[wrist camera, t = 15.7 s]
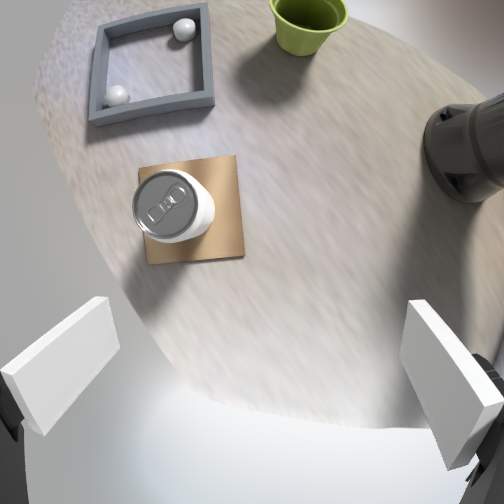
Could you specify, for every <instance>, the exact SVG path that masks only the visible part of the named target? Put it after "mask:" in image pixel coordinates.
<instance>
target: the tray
mask: <svg viewBox="0 0 504 504" xmlns="http://www.w3.org/2000/svg"><path fill="white" fill-rule="evenodd" d="M196 20H201V41H202V62H203V81H204V91H196V92H189V93H182V94H176V95H170V96H164V97H158V98H153V99H148V100H143V101H138V102H133V103H129V100H130V96H129V94H128V93H127V92H126V90H125V89H124V88H123V87H122V86H119V85H116V86H113V87H111V88H109V89H108V90H107V92H106V80H107V68H108V57H109V48H110V39H111V38H115V37H118V36H122V35H126V34H129V33H133V32H138V31H142V30H146V29H151V28H155V27H160V26H165V25H171V24H174V25H173V31H174V34H175V37H176V39H177V40H179V41H183V42H185V41H189V40H191V39H193V38H194V37H195V36H196V27H195V23H194V21H196ZM105 103H106V104H107V105H108V106H109V107H110V108H108V109H105ZM128 103H129V104H128ZM209 106H215V99H214V85H213V71H212V56H211V39H210V22H209V10H208V3H207V2H206V3H198V4H191V5H185V6H178V7H173V8H167V9H162V10H157V11H152V12H148V13H144V14H139V15H135V16H131V17H128V18H124V19H120V20H117V21H113V22H110V23H107V24H103V25H100V26H98V31H97V37H96V44H95V51H94V59H93V67H92V77H91V88H90V102H89V121H90V122H91V123H93V124H94V125H96V126H97V127H100V126H104V125H108V124H112V123H116V122H121V121H125V120H130V119H135V118H140V117H145V116H150V115H155V114H161V113H167V112H173V111H179V110H186V109H193V108H200V107H209Z"/></svg>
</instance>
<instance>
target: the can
mask: <svg viewBox="0 0 504 504" xmlns="http://www.w3.org/2000/svg"><path fill="white" fill-rule="evenodd" d="M132 208H133V215H134V218H135V221H136V223H137V224H138V226H139V227H140V228H141V230H142V231H143V232H144V233H145V234H146V235H147V236H149V237H150V238H152V239H154V240H156V241H159V242H163V243H175V242H180V241H184V240H187V239H191V238H194V237H196V236H199V235H201V234H202V233H204V232H205V231H206V230H207V229H208V228H209V227H210V225H211V224H212V222H213V219H214V215H215V205H214V201H213V198H212V196H211V195H210V194H209V192H208V191H207V190H206V189H205V188H204V187H203V186H202V185H201V184H200V183H199V182H198V181H197V180H196V179H195V178H193V177H192V176H191V175H189V174H187V173H185V172H183V171H180V170H174V169H167V170H162V171H159V172H156V173H154V174H152V175H150V176H148V177H147V178H145V179H144V180H143V181H142V182H141V184H140V185H139V186H138V188H137V190H136V192H135V194H134V198H133V205H132Z"/></svg>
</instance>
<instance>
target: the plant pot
mask: <svg viewBox="0 0 504 504" xmlns="http://www.w3.org/2000/svg"><path fill="white" fill-rule="evenodd" d="M269 6H270V8H271V10H272V12H273V14H274V16H275V23H276V39H277V42H278V44H279V46H280V47H281V48H282V49H284V50H286V51H287V52H289V53H290V54H292V55H296V56H308V55H311V54H313V53H314V52H316V51H317V50H318V49H319V47H320V46H321V45H322V44H323V42H324V41H325V40H326V39H327V37H328V36H329V35H330V34H331V33H332V32H334V31H336V30H338V29H340V28H341V27H342V26H343V25H344V24H345V23H346V21H347V19H348V9H347V7H346V4H345V3H344V1H343V0H269Z"/></svg>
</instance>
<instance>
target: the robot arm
mask: <svg viewBox="0 0 504 504" xmlns="http://www.w3.org/2000/svg"><path fill="white" fill-rule="evenodd" d="M424 144H425V152H426V157H427V161H428V164H429V167H430V169H431V172H432V174H433V176H434V178H435V179H436V181H437V183H438V184H439V186H440V187H441V188H442V189H443V190H444V191H445V192H446V193H447V194H448V195H449V196H450V197H452V198H453V199H455V200H457V201H459V202H463V203H475V202H481V201H484V200H486V199H487V198H489V197H491V196H492V195H494V194H495V193H497V192H498V191H500V190H501V189H503V188H504V93H502V94H500V95H498V96H496V97H493V98H491V99H489V100H487V101H485V102H482V103H480V104H478V105H473V104H451V105H447V106H445V107H443V108H441V109H439V110H438V111H436V112H435V113H434V114H433V115H432V116H431V117H430V119H429V121H428V123H427V126H426V129H425V137H424ZM119 349H120V346H119V342H118V338H117V334H116V330H115V326H114V322H113V317H112V313H111V309H110V304H109V300H108V297H97V296H96V297H94V298H93V299H91V300H90V301H88V302H87V303H86V304H84V305H83V306H82V307H80V308H79V309H78V310H77V311H75V312H73V313H72V314H71V315H69V316H68V317H67V318H66V319H64V320H63V321H62V322H60V323H59V324H58V325H56V326H55V327H54V328H52V329H51V330H50V331H48V332H47V333H46V334H44V335H43V336H42V337H41V338H39V339H38V340H37V341H35V342H34V343H33V344H32V345H30V346H29V347H28V348H27V349H25V350H24V351H23V352H22V353H20V354H19V355H18V356H17V357H15V358H14V359H13V360H12V361H10V362H9V363H8V364H7V365H6V366H4V367H3V368H2V369H1V370H0V504H29V501H28V493H27V484H26V472H25V456H24V429H23V426H22V424H21V423H20V422H21V421H22V420H23V419H24V418H25V420H26V422H27V423H28V425H29V427H30V428H31V430H33V431H35V432H37V433H39V434H41V435H43V436H45V435H46V434H47V433H48V431H49V430H50V429H51V427H53V425H54V424H55V423H56V422H57V420H58V419H59V418H60V417H61V416H62V415H63V413H64V412H65V411H66V410H67V409H68V408H69V406H70V405H71V404H72V403H73V402H74V400H75V399H76V398H77V397H78V396H79V394H80V393H81V392H82V391H83V390H84V389H85V388H86V386H87V385H88V384H89V383H90V382H91V381H92V380H93V378H94V377H95V376H96V375H97V374H98V373H99V372H100V370H101V369H102V368H103V367H104V366H105V365H106V364H107V362H108V361H109V360H110V359H111V358H112V357H113V356H114V355H115V353H116V352H117V351H118V350H119ZM398 357H399V359H400V361H401V363H402V365H403V367H404V369H405V371H406V373H407V376H408V378H409V380H410V382H411V384H412V386H413V388H414V391H415V393H416V395H417V397H418V400H419V402H420V404H421V406H422V409H423V411H424V413H425V415H426V418H427V420H428V423H429V425H430V427H431V430H432V432H433V435H434V437H435V439H436V442H437V444H438V447H439V449H440V452H441V455H442V457H443V460H444V462H445V465H446V468H447V470H448V471H449V470H452V469H456V468H459V467H462V466H465V465H468V464H469V462H470V461H471V459H472V458H473V456H474V455H475V453H476V454H477V456H478V458H479V462H478V464H477V465H476V467H475V468H474V469H473V471H472V472H471V473H470V475H469V476H468V477H467V479H466V481H467V482H468V481H469V480H470V481H469V484H468V486H467V488H466V490H465V493H464V495H463V497H462V499H461V501H460V503H459V504H504V380H503V379H502V378H500V375H499V374H498V373H497V372H496V371H494V368H493V367H492V365H491V364H490V363H489V362H488V360H486V359H485V358H483V357H482V356H480V355H478V354H477V353H476V354H470V352H469V351H468V350H467V349H466V348H465V346H464V345H463V344H462V343H461V341H460V340H459V339H458V338H457V337H456V335H455V334H454V333H453V332H452V331H451V329H450V328H449V327H448V326H447V325H446V323H445V322H444V321H443V320H442V319H441V318H440V316H439V315H438V314H437V313H436V312H435V311H434V310H433V309H432V307H431V306H430V305H429V304H428V303H427V302H426V301H425V300H409V301H408V307H407V313H406V319H405V325H404V330H403V335H402V340H401V345H400V350H399V355H398ZM470 478H471V479H470Z"/></svg>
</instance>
